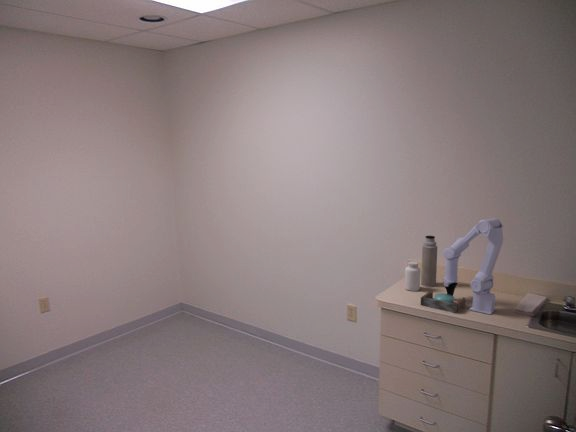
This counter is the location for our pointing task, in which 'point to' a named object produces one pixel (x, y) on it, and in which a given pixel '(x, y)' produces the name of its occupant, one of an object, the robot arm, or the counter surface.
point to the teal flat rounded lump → (445, 298)
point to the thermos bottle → (429, 262)
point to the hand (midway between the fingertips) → (450, 296)
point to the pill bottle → (412, 277)
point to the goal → (442, 303)
